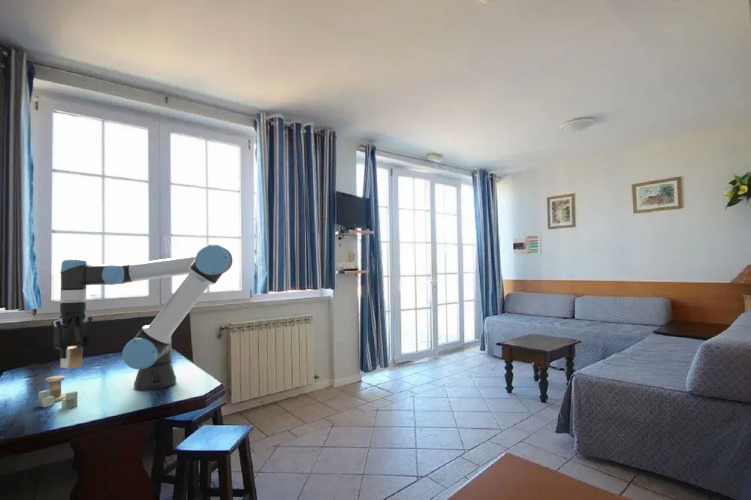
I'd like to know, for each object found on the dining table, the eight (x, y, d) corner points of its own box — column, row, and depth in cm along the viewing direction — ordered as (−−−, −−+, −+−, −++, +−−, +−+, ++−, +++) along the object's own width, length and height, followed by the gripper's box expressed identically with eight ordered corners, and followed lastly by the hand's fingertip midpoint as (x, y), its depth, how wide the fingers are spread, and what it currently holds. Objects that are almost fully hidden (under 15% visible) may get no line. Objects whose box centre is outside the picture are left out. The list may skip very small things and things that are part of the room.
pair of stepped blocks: (77, 406, 137) (77, 391, 137) (70, 408, 135) (70, 393, 135) (45, 404, 140) (45, 389, 140) (38, 406, 138) (38, 392, 138)
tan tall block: (81, 365, 145) (82, 346, 145) (70, 368, 141) (71, 348, 141) (71, 364, 146) (71, 346, 147) (60, 367, 142) (60, 348, 143)
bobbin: (71, 397, 148) (71, 375, 148) (52, 403, 141) (52, 380, 141) (56, 396, 149) (57, 374, 150) (37, 402, 143) (37, 379, 143)
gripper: (87, 299, 154) (86, 360, 153) (40, 303, 138) (39, 371, 136) (102, 299, 152) (101, 360, 151) (57, 303, 136) (55, 372, 134)
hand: (71, 365), depth 144 cm, fingers closed on tan tall block, 4 cm apart
